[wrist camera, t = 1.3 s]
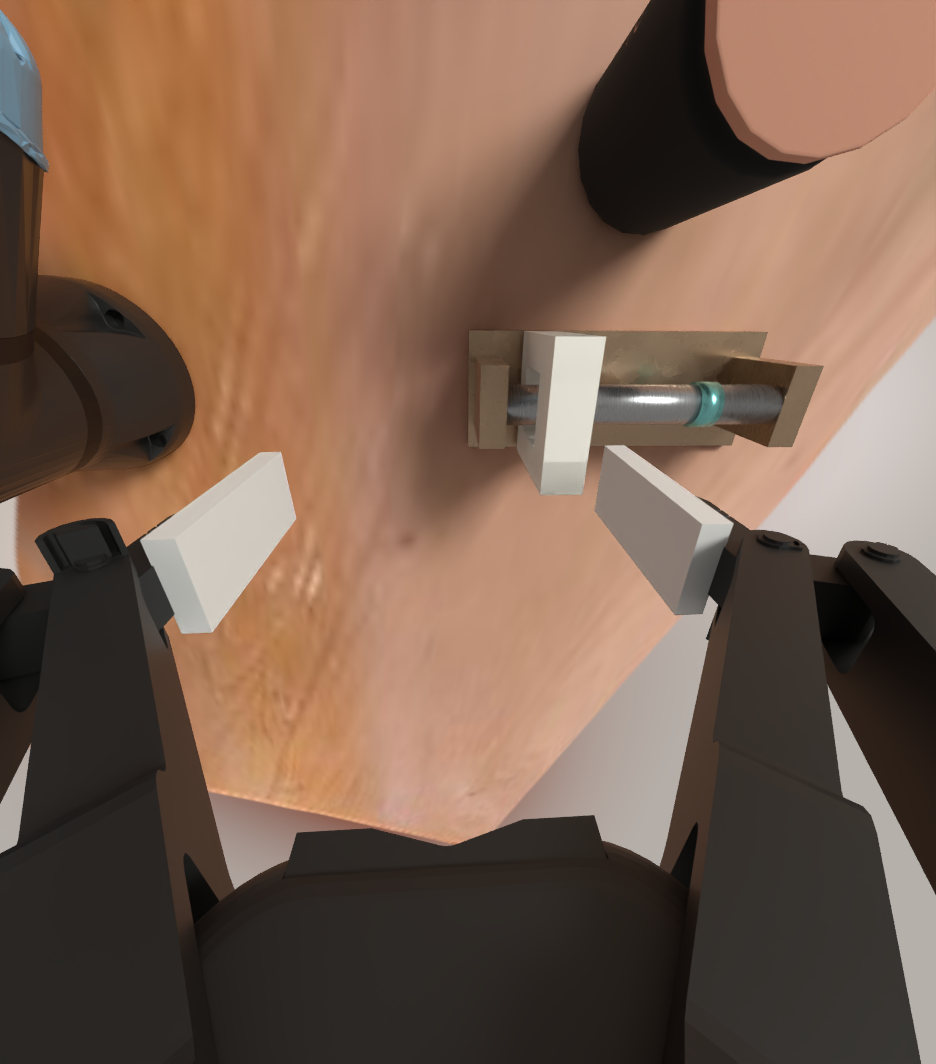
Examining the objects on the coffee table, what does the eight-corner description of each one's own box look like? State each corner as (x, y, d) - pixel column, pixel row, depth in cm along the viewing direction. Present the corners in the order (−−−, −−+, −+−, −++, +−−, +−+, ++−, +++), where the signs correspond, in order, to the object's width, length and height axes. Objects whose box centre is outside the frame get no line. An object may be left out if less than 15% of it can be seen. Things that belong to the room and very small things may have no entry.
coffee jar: (734, 37, 27) (1136, -358, 11) (703, 231, 32) (951, 147, 16) (576, 51, 27) (758, -324, 11) (570, 243, 32) (690, 171, 16)
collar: (516, 449, 38) (540, 495, 28) (524, 331, 33) (555, 336, 23) (548, 449, 38) (582, 494, 28) (560, 331, 33) (606, 336, 24)
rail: (467, 444, 39) (472, 474, 32) (468, 330, 35) (474, 333, 27) (725, 442, 41) (790, 471, 33) (759, 331, 36) (844, 335, 28)
